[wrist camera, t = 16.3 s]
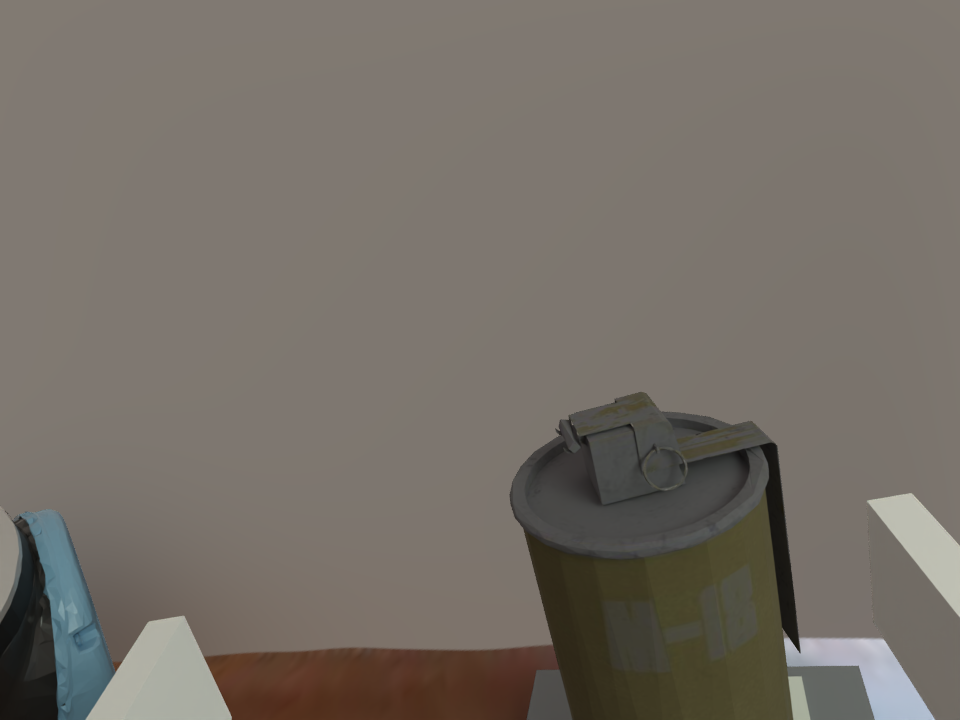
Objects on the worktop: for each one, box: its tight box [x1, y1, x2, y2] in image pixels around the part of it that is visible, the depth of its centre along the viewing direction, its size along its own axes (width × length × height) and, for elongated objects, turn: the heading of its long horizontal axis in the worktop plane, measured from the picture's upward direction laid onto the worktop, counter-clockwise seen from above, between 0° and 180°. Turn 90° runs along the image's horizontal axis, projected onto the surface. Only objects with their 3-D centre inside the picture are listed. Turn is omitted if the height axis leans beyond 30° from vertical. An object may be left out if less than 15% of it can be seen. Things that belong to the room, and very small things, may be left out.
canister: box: [510, 392, 801, 720], centre depth 33 cm, size 11×10×20 cm
